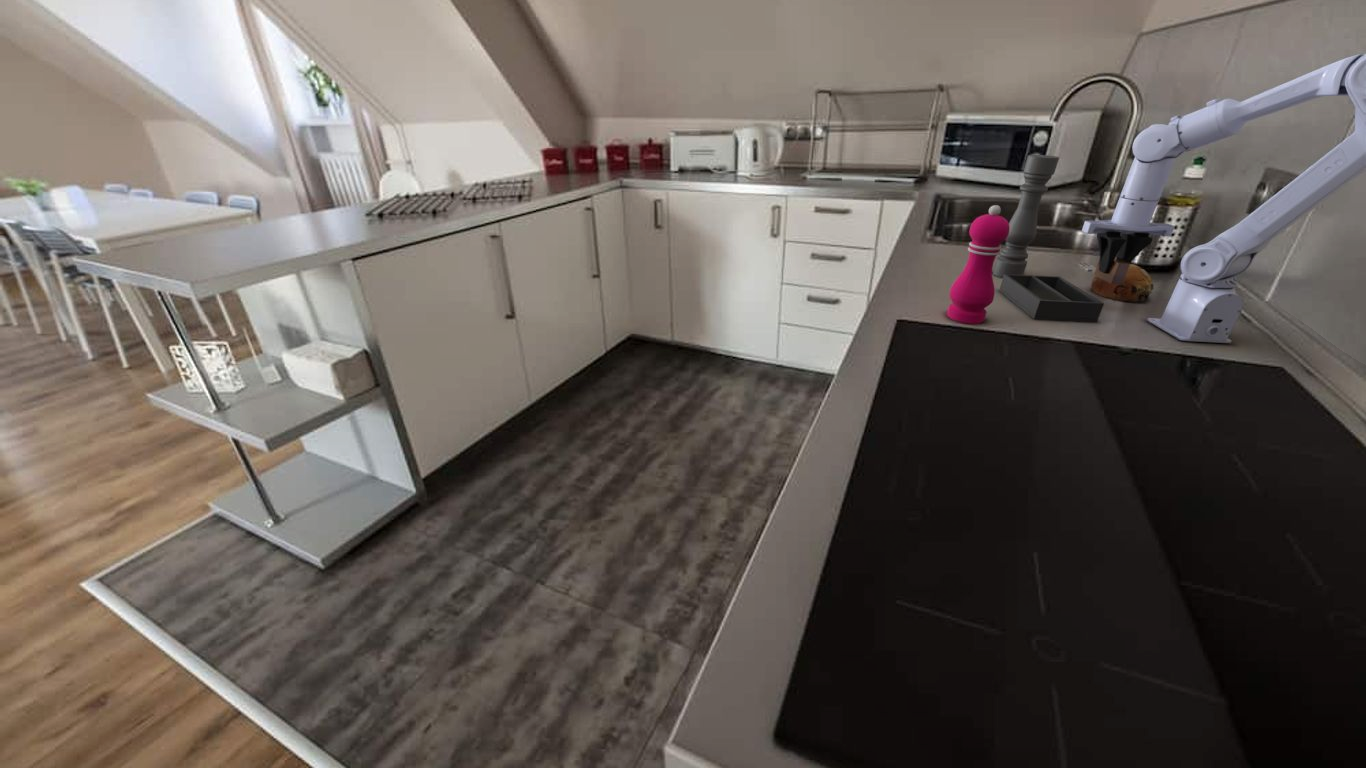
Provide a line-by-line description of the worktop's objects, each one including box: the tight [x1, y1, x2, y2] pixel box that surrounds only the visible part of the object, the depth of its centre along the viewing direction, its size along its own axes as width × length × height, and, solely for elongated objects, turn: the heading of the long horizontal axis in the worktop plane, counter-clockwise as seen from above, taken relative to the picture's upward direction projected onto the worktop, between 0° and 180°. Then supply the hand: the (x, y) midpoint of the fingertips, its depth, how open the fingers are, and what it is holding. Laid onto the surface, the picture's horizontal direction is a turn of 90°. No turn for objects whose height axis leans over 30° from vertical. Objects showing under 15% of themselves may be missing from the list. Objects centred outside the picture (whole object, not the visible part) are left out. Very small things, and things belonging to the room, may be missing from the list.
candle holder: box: [992, 154, 1060, 279], centre depth 120 cm, size 6×6×25 cm
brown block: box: [1073, 256, 1131, 284], centre depth 109 cm, size 13×2×4 cm, turn 174°
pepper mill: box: [946, 204, 1010, 325], centre depth 97 cm, size 7×7×20 cm
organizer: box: [998, 274, 1105, 323], centre depth 108 cm, size 16×11×4 cm
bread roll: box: [1090, 263, 1154, 303], centre depth 114 cm, size 10×10×8 cm
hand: (1110, 272), depth 106 cm, fingers closed on brown block, 2 cm apart
